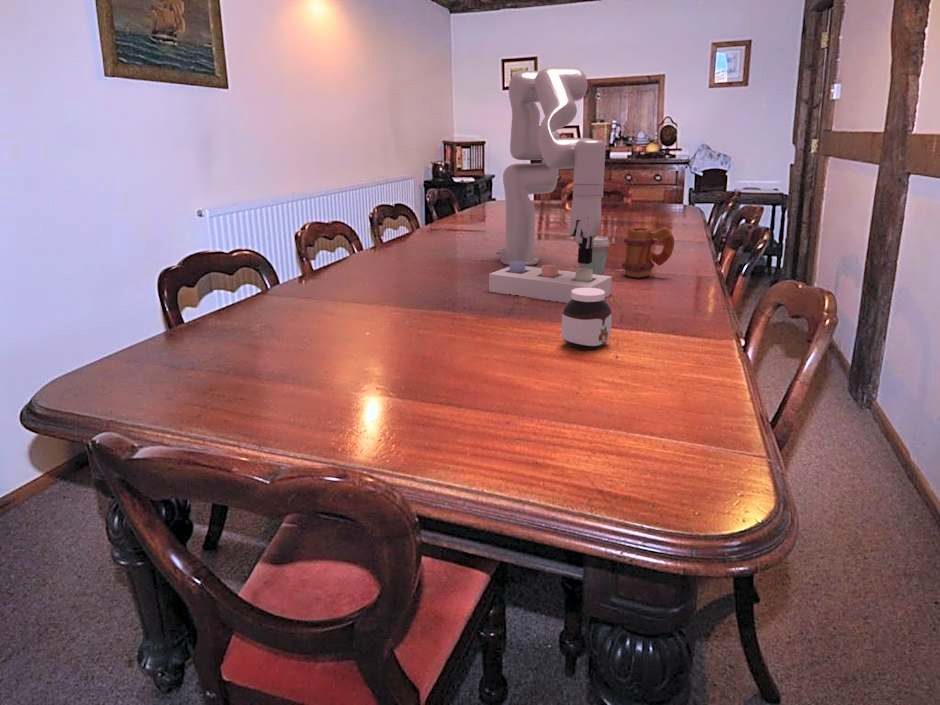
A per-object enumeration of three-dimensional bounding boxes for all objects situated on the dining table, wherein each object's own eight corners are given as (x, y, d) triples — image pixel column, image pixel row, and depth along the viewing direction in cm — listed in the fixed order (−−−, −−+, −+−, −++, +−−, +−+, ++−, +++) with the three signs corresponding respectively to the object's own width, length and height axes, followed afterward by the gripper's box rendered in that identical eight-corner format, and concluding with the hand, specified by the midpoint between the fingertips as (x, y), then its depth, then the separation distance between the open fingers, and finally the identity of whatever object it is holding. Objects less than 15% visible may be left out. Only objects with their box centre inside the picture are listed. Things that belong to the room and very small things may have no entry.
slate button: (506, 280, 184) (506, 262, 182) (514, 277, 187) (514, 260, 186) (520, 282, 181) (520, 264, 180) (527, 279, 185) (528, 261, 183)
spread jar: (581, 355, 133) (584, 299, 129) (543, 341, 141) (545, 288, 137) (621, 343, 139) (625, 289, 135) (583, 330, 148) (585, 280, 144)
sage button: (572, 289, 173) (573, 270, 172) (579, 286, 177) (580, 267, 175) (587, 291, 171) (588, 272, 169) (594, 287, 174) (595, 269, 173)
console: (489, 291, 182) (489, 273, 181) (514, 281, 193) (514, 264, 192) (589, 306, 167) (590, 287, 165) (610, 294, 178) (611, 276, 176)
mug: (617, 277, 197) (620, 227, 192) (624, 272, 203) (628, 223, 198) (667, 282, 190) (672, 230, 185) (673, 276, 197) (678, 226, 192)
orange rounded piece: (538, 284, 179) (538, 266, 177) (545, 281, 182) (546, 263, 180) (553, 286, 176) (553, 268, 175) (560, 283, 180) (560, 265, 178)
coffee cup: (607, 281, 192) (609, 240, 188) (577, 280, 193) (579, 239, 189) (607, 275, 200) (609, 235, 196) (579, 274, 201) (580, 235, 197)
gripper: (586, 187, 173) (583, 257, 179) (561, 193, 162) (559, 266, 168) (613, 189, 169) (609, 259, 175) (590, 194, 158) (586, 269, 164)
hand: (584, 262), depth 171 cm, fingers closed
